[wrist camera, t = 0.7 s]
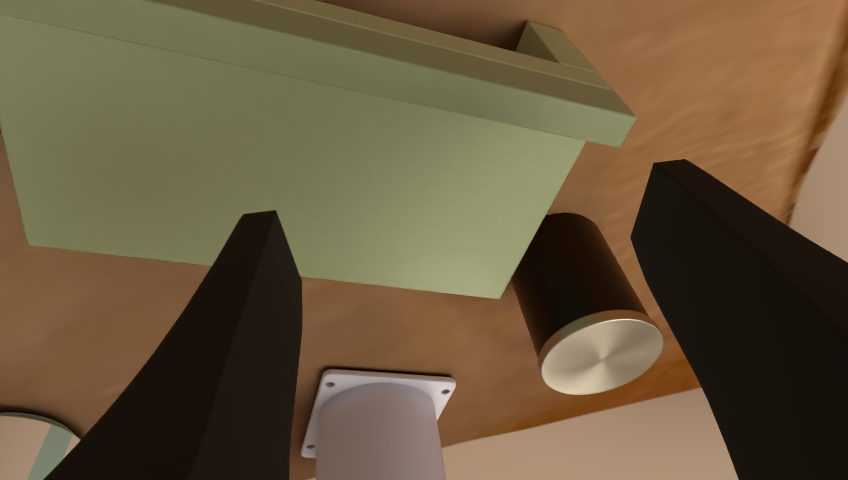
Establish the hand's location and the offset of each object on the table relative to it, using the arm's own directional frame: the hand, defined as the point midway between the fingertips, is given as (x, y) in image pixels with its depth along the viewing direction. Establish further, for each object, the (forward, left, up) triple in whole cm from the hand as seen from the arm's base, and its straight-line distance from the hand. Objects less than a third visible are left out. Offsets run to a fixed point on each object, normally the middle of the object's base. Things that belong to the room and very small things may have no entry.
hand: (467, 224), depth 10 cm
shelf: (-3, +3, -11) cm, 11 cm away
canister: (-9, -10, -11) cm, 17 cm away
